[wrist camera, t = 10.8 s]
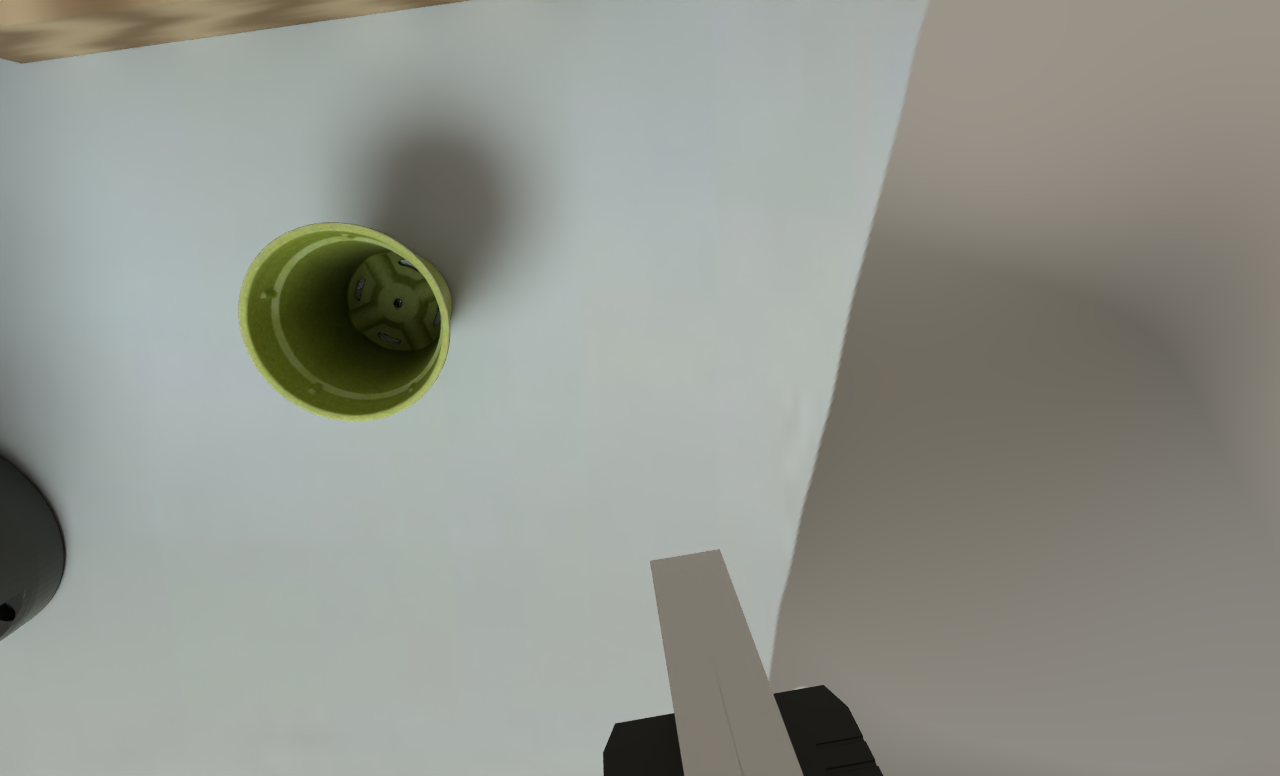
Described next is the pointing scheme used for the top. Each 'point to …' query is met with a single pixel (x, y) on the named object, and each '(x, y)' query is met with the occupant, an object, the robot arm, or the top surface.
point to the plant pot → (344, 321)
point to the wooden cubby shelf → (158, 21)
